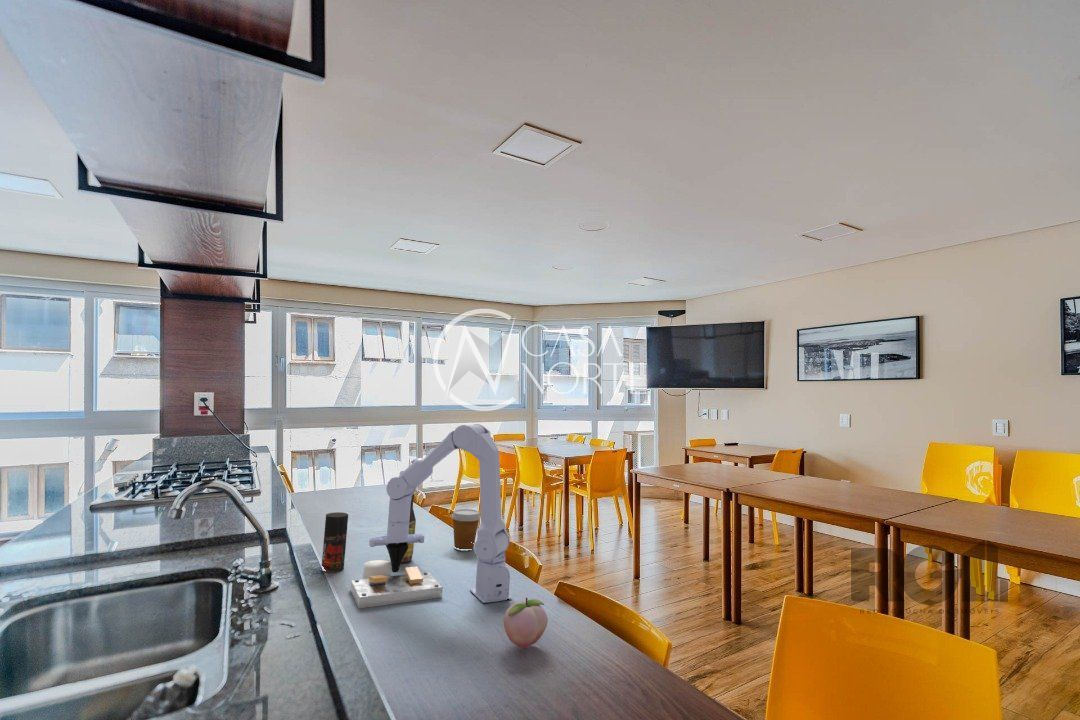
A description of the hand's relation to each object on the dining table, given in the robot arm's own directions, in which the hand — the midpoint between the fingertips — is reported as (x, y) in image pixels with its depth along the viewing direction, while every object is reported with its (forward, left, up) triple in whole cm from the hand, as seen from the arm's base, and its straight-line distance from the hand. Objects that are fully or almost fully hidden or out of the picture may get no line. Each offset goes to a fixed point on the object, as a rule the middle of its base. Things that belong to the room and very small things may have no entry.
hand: (394, 571), depth 143 cm
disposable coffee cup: (+20, -28, -2) cm, 34 cm away
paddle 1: (-11, +7, +2) cm, 13 cm away
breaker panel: (-12, +2, -2) cm, 12 cm away
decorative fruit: (-49, -15, -2) cm, 51 cm away
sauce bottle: (+14, -6, -2) cm, 15 cm away
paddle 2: (-11, -2, +2) cm, 11 cm away
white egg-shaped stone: (0, +5, -2) cm, 5 cm away
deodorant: (+12, +14, -2) cm, 19 cm away
